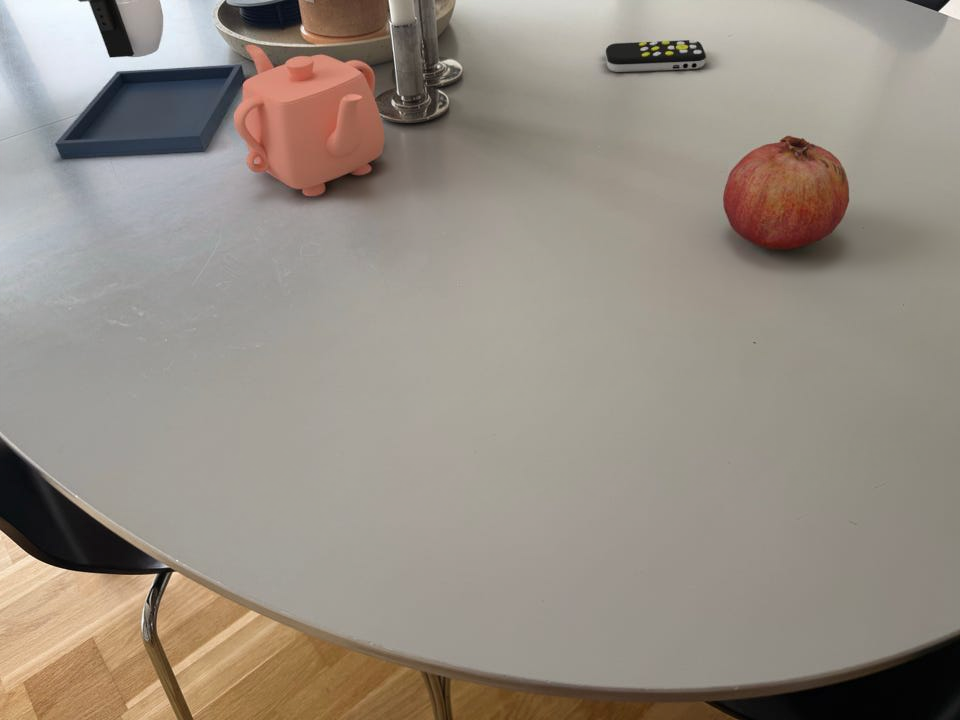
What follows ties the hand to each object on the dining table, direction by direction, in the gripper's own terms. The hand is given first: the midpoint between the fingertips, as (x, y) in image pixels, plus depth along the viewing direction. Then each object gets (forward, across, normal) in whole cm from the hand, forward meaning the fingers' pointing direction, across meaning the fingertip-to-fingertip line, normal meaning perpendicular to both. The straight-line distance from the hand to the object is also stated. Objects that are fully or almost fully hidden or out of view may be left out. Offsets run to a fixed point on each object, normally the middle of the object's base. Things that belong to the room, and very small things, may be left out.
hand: (134, 40), depth 100 cm
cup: (+1, 0, 0) cm, 1 cm away
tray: (+10, 0, 0) cm, 10 cm away
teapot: (+10, -17, -24) cm, 31 cm away
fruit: (+10, -35, -70) cm, 79 cm away
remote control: (+10, +8, -65) cm, 66 cm away
